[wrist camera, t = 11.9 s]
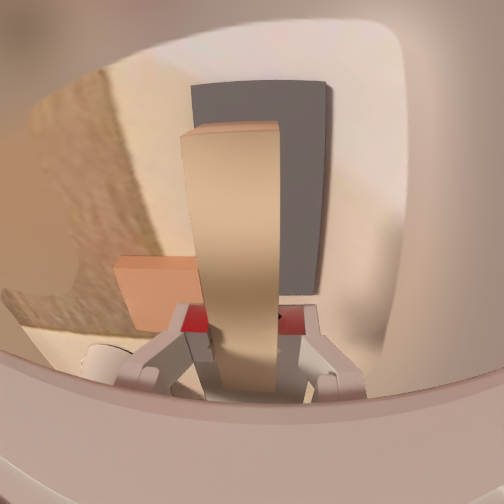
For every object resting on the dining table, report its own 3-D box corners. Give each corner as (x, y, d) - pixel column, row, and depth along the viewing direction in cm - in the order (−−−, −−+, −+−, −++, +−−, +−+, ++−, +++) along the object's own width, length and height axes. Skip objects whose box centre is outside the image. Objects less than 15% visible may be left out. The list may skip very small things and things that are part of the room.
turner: (298, 409, 18) (299, 439, 16) (214, 407, 18) (209, 435, 16) (334, 122, 8) (354, 134, 6) (151, 130, 9) (117, 145, 7)
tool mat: (312, 291, 32) (313, 295, 31) (216, 291, 33) (215, 294, 32) (324, 81, 20) (325, 81, 19) (192, 85, 21) (190, 85, 20)
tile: (203, 255, 31) (213, 320, 36) (122, 254, 31) (142, 315, 37) (198, 270, 28) (210, 336, 34) (112, 267, 29) (136, 329, 34)
